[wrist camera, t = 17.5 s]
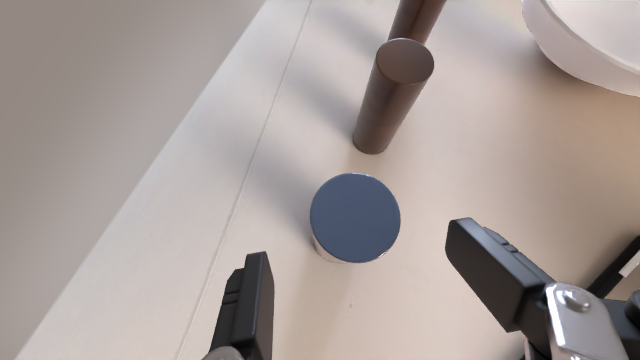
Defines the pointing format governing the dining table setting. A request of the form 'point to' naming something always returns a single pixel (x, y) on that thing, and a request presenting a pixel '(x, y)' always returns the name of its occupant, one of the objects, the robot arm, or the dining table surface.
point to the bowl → (590, 39)
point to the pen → (616, 271)
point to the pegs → (397, 75)
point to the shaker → (354, 219)
